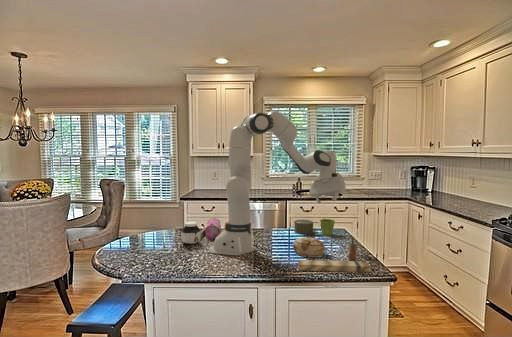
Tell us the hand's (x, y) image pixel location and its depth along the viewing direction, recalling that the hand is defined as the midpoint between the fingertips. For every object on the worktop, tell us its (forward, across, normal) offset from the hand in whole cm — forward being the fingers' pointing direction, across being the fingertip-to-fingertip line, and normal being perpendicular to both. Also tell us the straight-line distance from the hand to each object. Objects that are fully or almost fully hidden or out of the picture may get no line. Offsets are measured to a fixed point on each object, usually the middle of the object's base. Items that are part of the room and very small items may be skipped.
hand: (326, 202), depth 170 cm
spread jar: (+28, -66, -32) cm, 78 cm away
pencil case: (+19, -69, -15) cm, 73 cm away
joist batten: (+37, +13, -12) cm, 41 cm away
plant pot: (+8, -17, +32) cm, 37 cm away
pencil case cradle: (+18, -69, -15) cm, 73 cm away
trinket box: (+28, -6, -3) cm, 29 cm away
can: (+7, -31, +26) cm, 41 cm away
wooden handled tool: (+32, +16, 0) cm, 35 cm away
